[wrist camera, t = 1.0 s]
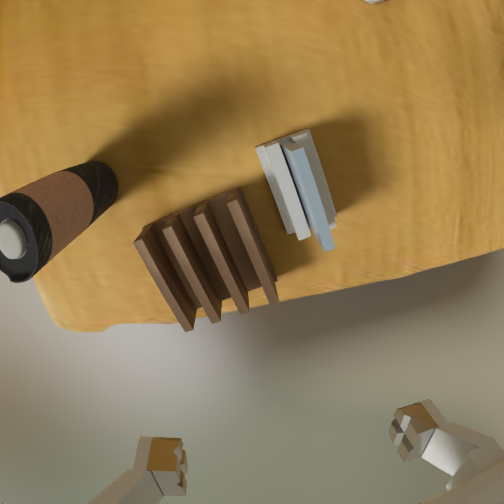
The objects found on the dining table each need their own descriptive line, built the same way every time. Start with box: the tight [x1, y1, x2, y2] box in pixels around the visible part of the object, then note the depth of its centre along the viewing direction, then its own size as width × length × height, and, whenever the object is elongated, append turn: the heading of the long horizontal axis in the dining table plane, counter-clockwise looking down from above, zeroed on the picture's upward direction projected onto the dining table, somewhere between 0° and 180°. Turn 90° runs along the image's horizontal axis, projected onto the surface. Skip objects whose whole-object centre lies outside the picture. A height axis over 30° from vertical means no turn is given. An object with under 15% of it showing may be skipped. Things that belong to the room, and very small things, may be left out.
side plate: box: [279, 141, 335, 252], centre depth 34 cm, size 1×11×9 cm, turn 21°
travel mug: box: [0, 161, 118, 283], centre depth 29 cm, size 8×8×20 cm
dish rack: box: [133, 187, 279, 332], centre depth 40 cm, size 14×14×6 cm
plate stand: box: [255, 129, 337, 241], centre depth 38 cm, size 7×12×4 cm, turn 21°
